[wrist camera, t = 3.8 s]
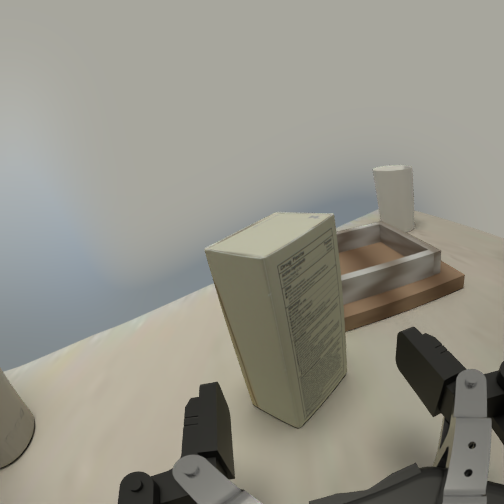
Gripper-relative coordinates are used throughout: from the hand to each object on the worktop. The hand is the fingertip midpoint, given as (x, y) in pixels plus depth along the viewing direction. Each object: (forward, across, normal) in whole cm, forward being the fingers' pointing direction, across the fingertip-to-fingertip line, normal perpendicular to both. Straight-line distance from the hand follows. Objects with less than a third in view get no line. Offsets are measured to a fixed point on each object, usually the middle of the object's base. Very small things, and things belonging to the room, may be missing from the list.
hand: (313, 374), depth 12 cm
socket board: (+20, -11, +7) cm, 24 cm away
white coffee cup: (+33, -24, +8) cm, 41 cm away
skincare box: (+6, 0, +7) cm, 9 cm away
